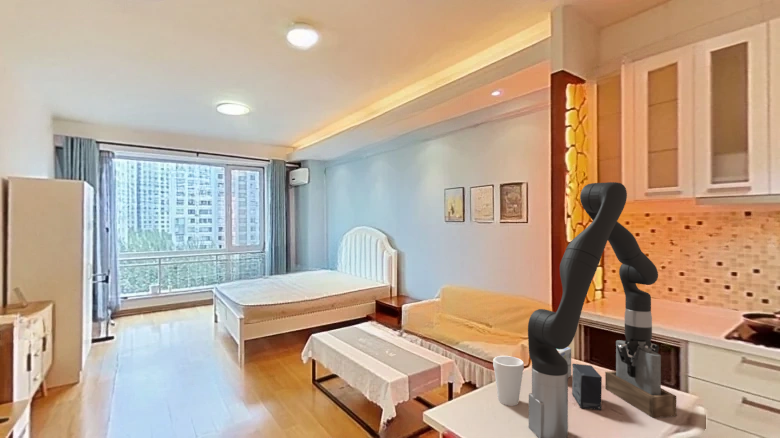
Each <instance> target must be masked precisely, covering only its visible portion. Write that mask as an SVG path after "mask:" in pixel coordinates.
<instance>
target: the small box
mask: <svg viewBox="0 0 780 438" xmlns="http://www.w3.org/2000/svg"><path fill="white" fill-rule="evenodd" d="M571 367H572V386H571V387H572V389H571V394H572V397H573V398H574V400H575V401H576V403H577V405H578V406H579V408H581V409H587V410H588V409H590V410H596V411H598V410H599V411H601V410H602V388H603V387H602V386H603V385H602V380H603V379H602V378H603V377H602V376H601V375H600V373H599V372H598V371H597V370H596V369H595V368H594V367H593V365H591V364H580V363H571Z"/></svg>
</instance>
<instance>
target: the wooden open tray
mask: <svg viewBox="0 0 780 438" xmlns="http://www.w3.org/2000/svg"><path fill="white" fill-rule="evenodd" d="M604 373H605V375H604V376H605V384H604V385H605V386H604V387H605V390H607V391H608V392H610V393H611V394H612V395H615V396H616V397H618V398H619V399H621V400H623V401H625V402H626V403H628V404H629V405H631V406H633V407H635V408H636V409H637V410H638V411H639V410H640V411H641V412H643V413H644V414H646V415H648V416H649V417H651V418H652V419H653V418H654V419H656V418H667V417H668V418H669V417H677V395H675V394H673V393H671V392H669V391H667V390H665V389H664V388H661V395H654V396H653V395H651V394H649V393H647V392H646V391H644V390H642V389H640V388H638V387H636V386H634V385H633V384H631V383H629V382H627V381H625V380H623V379H621V378H620V377H618V376H616V370H613V371H605V372H604Z"/></svg>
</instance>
